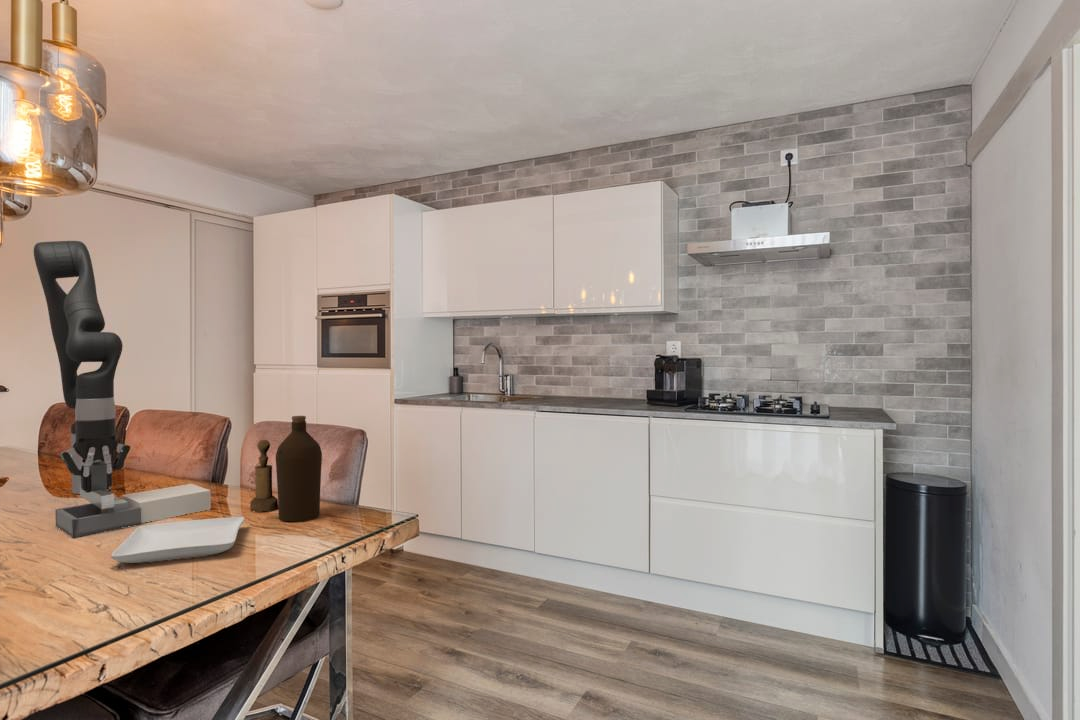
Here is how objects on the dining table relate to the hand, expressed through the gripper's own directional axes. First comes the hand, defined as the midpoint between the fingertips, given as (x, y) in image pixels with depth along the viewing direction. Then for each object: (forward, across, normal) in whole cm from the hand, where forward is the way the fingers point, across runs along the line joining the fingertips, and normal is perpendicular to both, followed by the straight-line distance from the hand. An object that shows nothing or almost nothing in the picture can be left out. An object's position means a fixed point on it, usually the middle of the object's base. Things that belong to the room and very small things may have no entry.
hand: (96, 490), depth 140 cm
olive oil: (+9, -34, +30) cm, 46 cm away
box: (+8, 0, 0) cm, 8 cm away
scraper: (+3, 0, 0) cm, 3 cm away
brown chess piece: (+9, -32, +16) cm, 37 cm away
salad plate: (+9, -7, +32) cm, 34 cm away
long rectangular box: (+8, -15, 0) cm, 17 cm away
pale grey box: (+5, -5, +2) cm, 8 cm away
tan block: (+5, -5, -3) cm, 8 cm away
